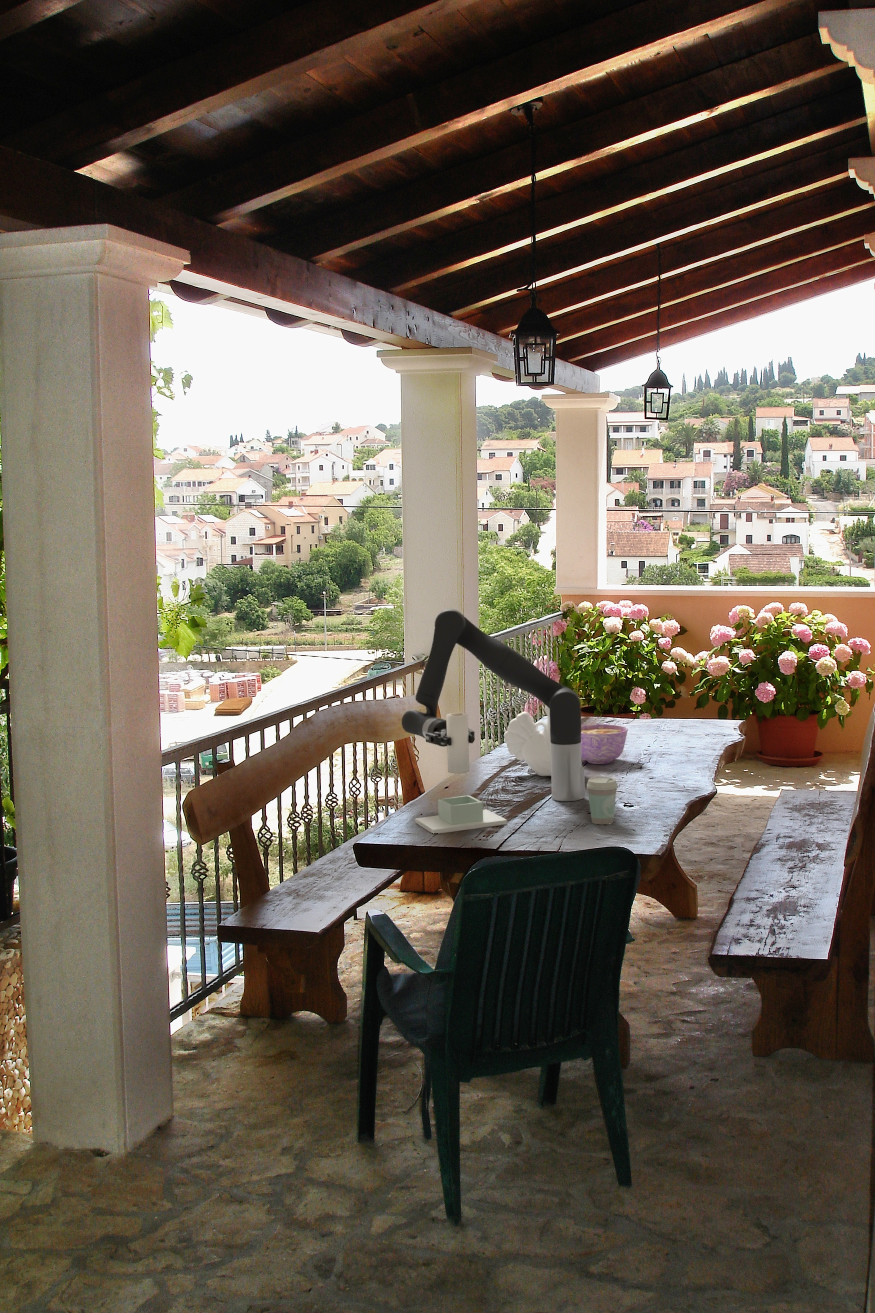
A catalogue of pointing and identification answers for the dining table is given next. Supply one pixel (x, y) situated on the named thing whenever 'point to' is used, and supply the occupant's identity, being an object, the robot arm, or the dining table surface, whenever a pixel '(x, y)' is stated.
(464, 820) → the roll caddy
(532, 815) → the dining table surface
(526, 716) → the decorative rooster
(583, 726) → the bowl of food
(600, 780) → the coffee cup
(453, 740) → the paper roll
